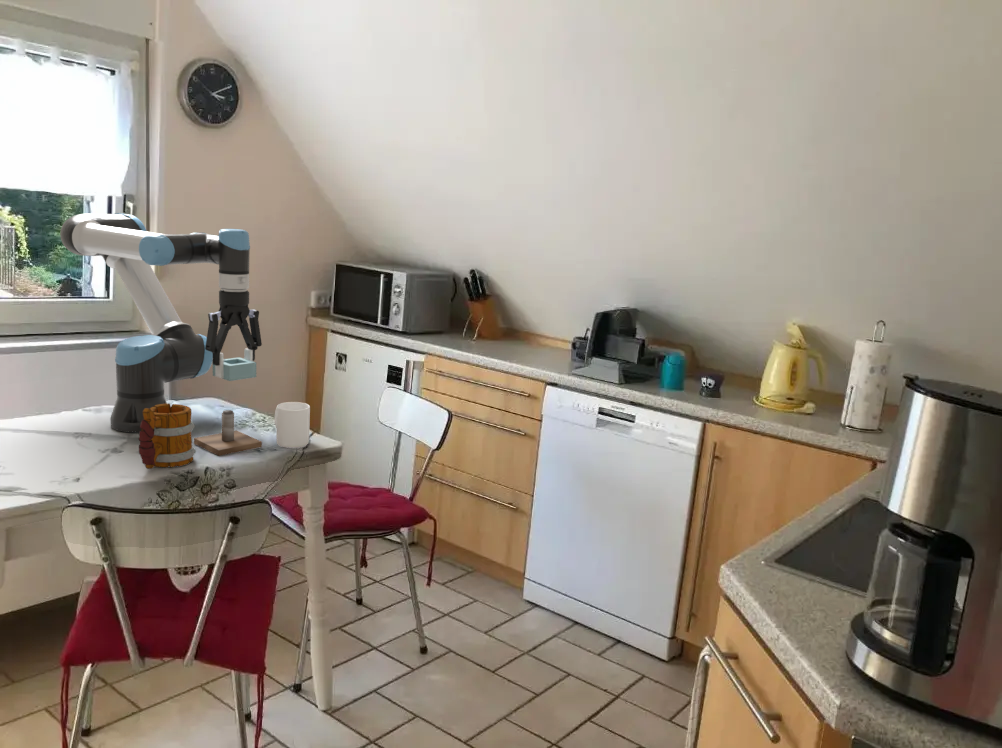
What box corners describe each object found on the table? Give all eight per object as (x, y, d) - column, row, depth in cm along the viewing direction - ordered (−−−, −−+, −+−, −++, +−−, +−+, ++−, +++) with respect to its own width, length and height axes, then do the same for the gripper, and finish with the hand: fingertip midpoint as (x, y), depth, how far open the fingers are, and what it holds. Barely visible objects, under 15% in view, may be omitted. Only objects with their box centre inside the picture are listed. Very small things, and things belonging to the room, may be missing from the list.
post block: (193, 443, 216) (193, 409, 214) (236, 435, 225) (236, 402, 223) (218, 456, 208) (218, 420, 206) (261, 447, 217) (262, 413, 215)
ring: (212, 375, 225) (212, 360, 225) (239, 371, 231) (239, 357, 231) (229, 381, 220) (229, 365, 220) (256, 377, 226) (256, 362, 226)
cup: (288, 450, 216) (289, 412, 214) (261, 439, 224) (262, 401, 222) (315, 444, 222) (316, 407, 220) (288, 433, 230) (288, 397, 228)
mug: (204, 457, 207) (203, 397, 204) (162, 478, 191) (161, 414, 188) (164, 450, 209) (163, 391, 206) (120, 471, 194) (119, 407, 190)
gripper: (205, 293, 211) (206, 383, 216) (276, 289, 226) (275, 373, 231) (189, 289, 215) (190, 377, 220) (260, 285, 231) (259, 367, 236)
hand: (234, 375), depth 226 cm, fingers closed on ring, 8 cm apart
